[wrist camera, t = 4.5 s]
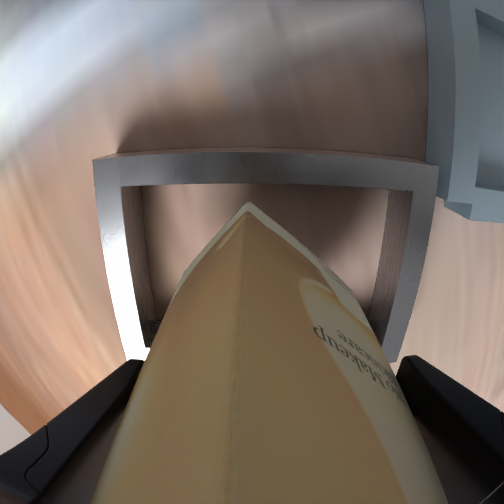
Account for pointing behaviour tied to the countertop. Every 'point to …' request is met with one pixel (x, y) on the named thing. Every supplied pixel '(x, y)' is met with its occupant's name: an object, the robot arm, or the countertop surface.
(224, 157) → the metal collar
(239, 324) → the skincare box
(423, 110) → the countertop surface
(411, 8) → the countertop surface
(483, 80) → the slate tray
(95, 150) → the countertop surface
